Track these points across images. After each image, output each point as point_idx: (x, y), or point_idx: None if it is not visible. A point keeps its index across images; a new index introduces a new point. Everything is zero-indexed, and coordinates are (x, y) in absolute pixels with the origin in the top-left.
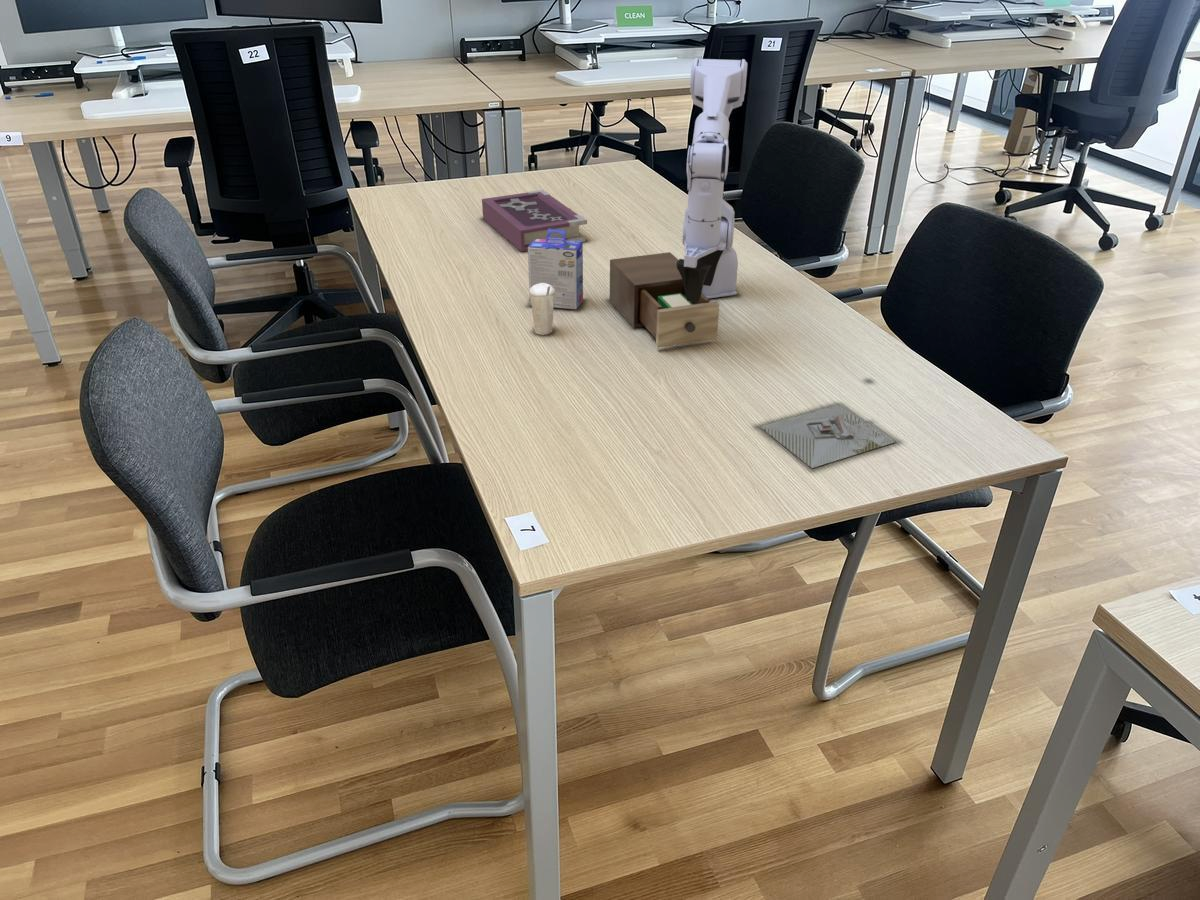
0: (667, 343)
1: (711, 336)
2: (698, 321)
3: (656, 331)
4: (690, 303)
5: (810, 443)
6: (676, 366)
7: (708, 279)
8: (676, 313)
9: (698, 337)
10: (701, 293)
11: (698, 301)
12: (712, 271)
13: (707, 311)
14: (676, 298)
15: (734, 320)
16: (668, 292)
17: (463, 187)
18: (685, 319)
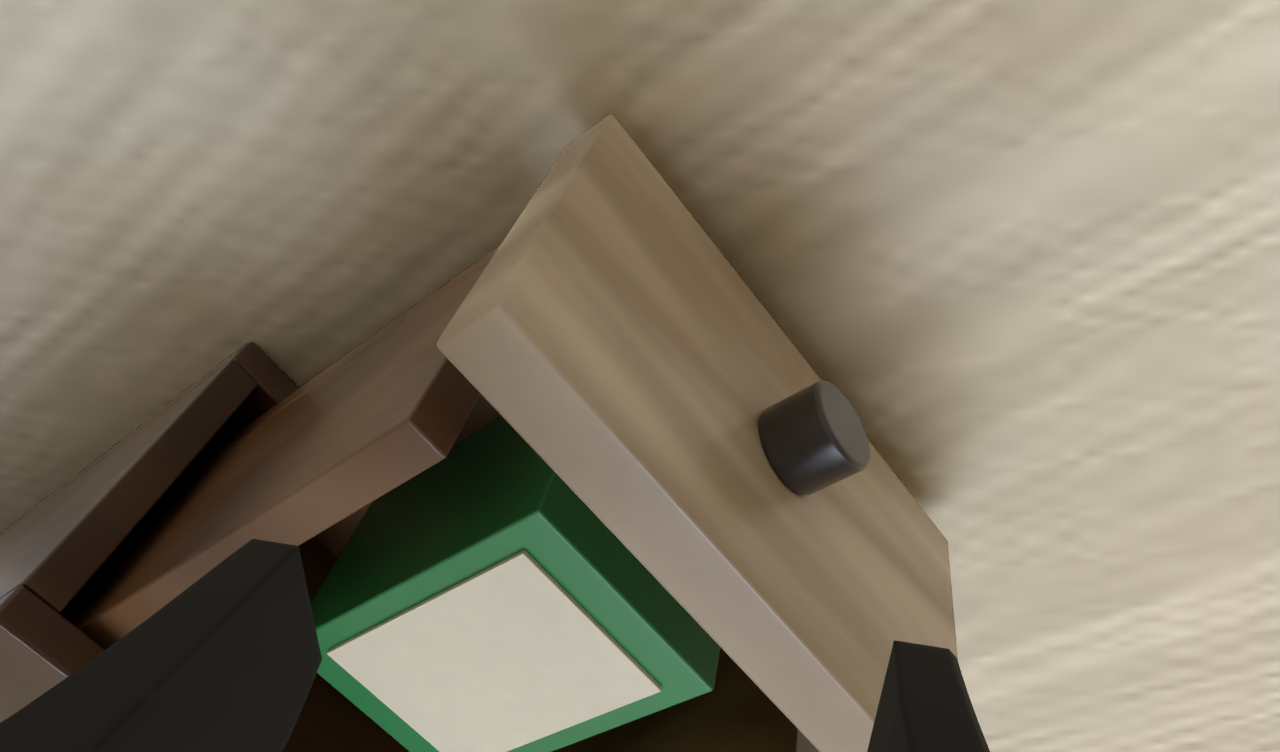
0: (906, 502)
1: (645, 173)
2: (713, 393)
3: None
4: (480, 554)
5: None
6: (1204, 353)
7: (256, 644)
8: (865, 672)
9: (731, 288)
10: (909, 727)
11: (939, 650)
12: (157, 720)
13: (629, 379)
14: (436, 672)
15: (72, 16)
16: None
17: None
18: (801, 533)
